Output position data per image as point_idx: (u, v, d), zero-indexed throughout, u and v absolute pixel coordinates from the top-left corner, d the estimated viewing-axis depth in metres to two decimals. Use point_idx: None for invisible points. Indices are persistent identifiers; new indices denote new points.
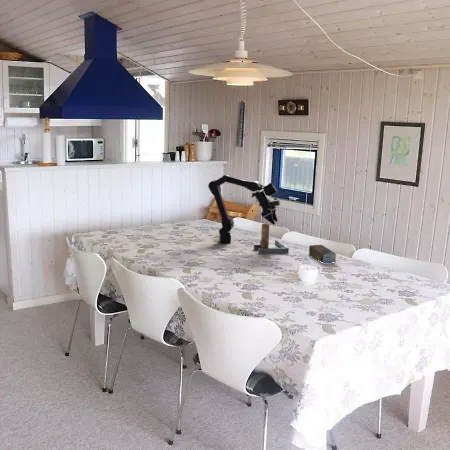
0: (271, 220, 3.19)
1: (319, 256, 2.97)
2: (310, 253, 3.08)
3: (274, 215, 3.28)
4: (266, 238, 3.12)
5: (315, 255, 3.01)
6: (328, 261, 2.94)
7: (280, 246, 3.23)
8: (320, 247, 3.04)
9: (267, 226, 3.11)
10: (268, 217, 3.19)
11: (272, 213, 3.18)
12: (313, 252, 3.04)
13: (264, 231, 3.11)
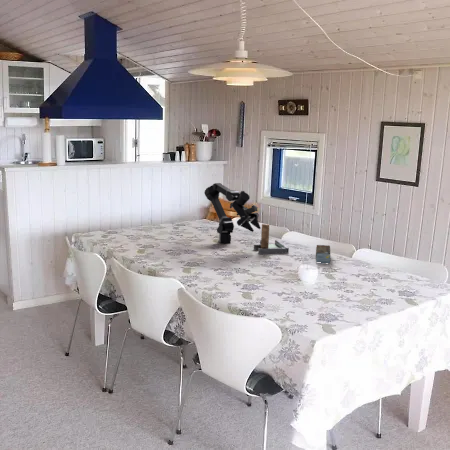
0: (249, 227, 3.12)
1: None
2: None
3: (256, 223, 3.20)
4: (266, 238, 3.12)
5: None
6: (322, 261, 2.94)
7: (280, 246, 3.23)
8: (323, 247, 3.04)
9: (267, 226, 3.11)
10: (245, 225, 3.12)
11: (248, 220, 3.11)
12: None
13: (264, 231, 3.11)
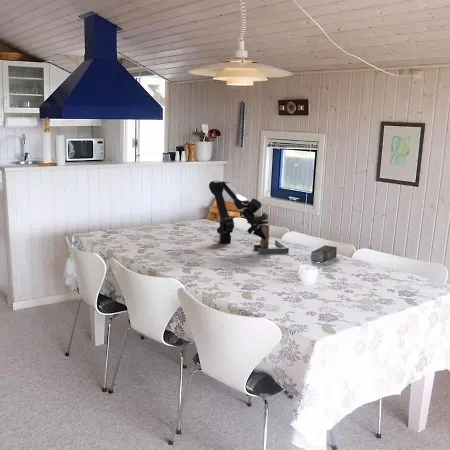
0: (261, 235, 3.11)
1: None
2: None
3: None
4: (266, 238, 3.12)
5: None
6: (316, 260, 2.95)
7: (280, 246, 3.23)
8: (326, 248, 3.04)
9: (267, 226, 3.11)
10: (258, 232, 3.12)
11: (261, 228, 3.11)
12: None
13: (264, 231, 3.11)
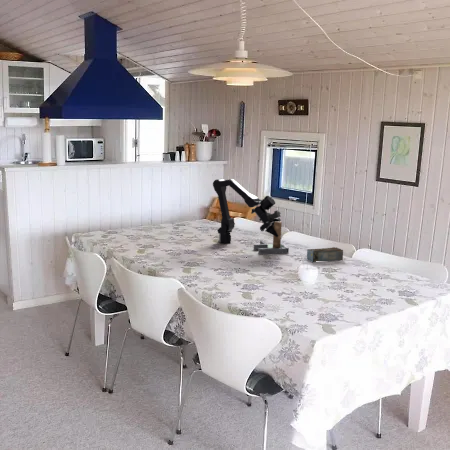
0: (273, 232, 3.13)
1: None
2: None
3: None
4: (278, 235, 3.14)
5: None
6: (309, 258, 2.99)
7: (280, 246, 3.23)
8: (330, 249, 3.01)
9: (279, 223, 3.13)
10: (270, 230, 3.13)
11: (273, 225, 3.12)
12: None
13: (276, 228, 3.13)
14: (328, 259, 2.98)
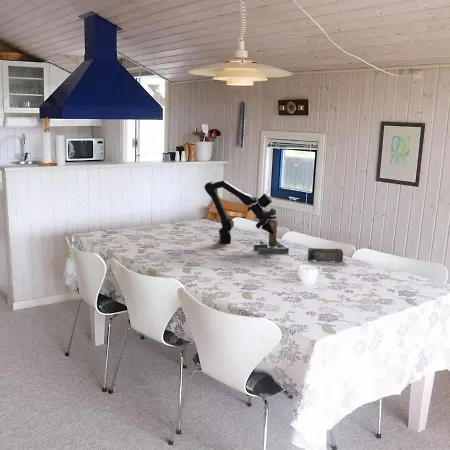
0: (269, 230, 3.20)
1: None
2: None
3: None
4: (274, 233, 3.21)
5: None
6: None
7: (280, 246, 3.23)
8: (330, 249, 3.00)
9: (275, 221, 3.20)
10: (266, 227, 3.21)
11: (269, 223, 3.20)
12: None
13: (272, 226, 3.20)
14: (325, 259, 2.97)
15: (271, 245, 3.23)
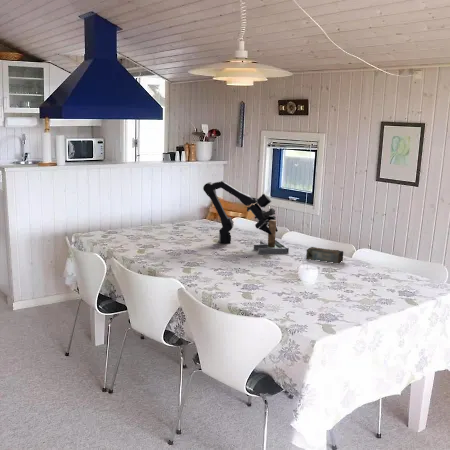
0: (267, 230, 3.20)
1: None
2: None
3: None
4: (273, 233, 3.23)
5: None
6: None
7: (280, 246, 3.23)
8: (330, 250, 2.98)
9: (274, 222, 3.22)
10: (263, 228, 3.20)
11: (267, 223, 3.20)
12: None
13: (271, 227, 3.22)
14: (322, 259, 2.97)
15: (270, 246, 3.25)
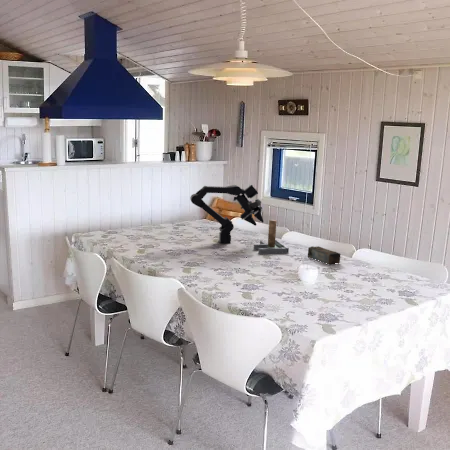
0: (252, 221, 3.24)
1: None
2: None
3: (259, 216, 3.33)
4: (273, 233, 3.23)
5: None
6: None
7: (280, 246, 3.23)
8: (327, 251, 2.97)
9: (274, 222, 3.22)
10: (249, 219, 3.25)
11: None
12: None
13: (271, 227, 3.22)
14: (318, 259, 2.98)
15: (270, 246, 3.25)
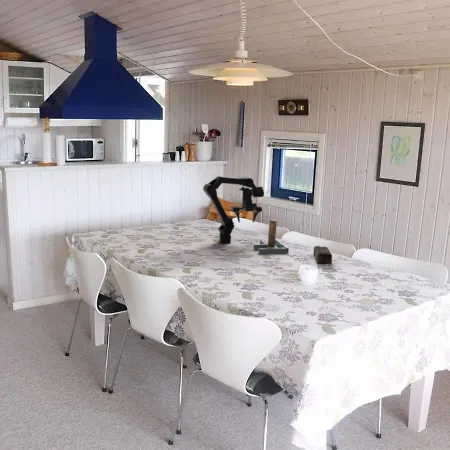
0: (237, 218, 3.36)
1: None
2: None
3: (253, 216, 3.38)
4: (273, 233, 3.23)
5: None
6: None
7: (280, 246, 3.23)
8: (323, 251, 2.96)
9: (275, 222, 3.22)
10: (237, 214, 3.36)
11: (239, 213, 3.33)
12: None
13: (272, 227, 3.22)
14: (315, 258, 3.00)
15: (270, 245, 3.24)
